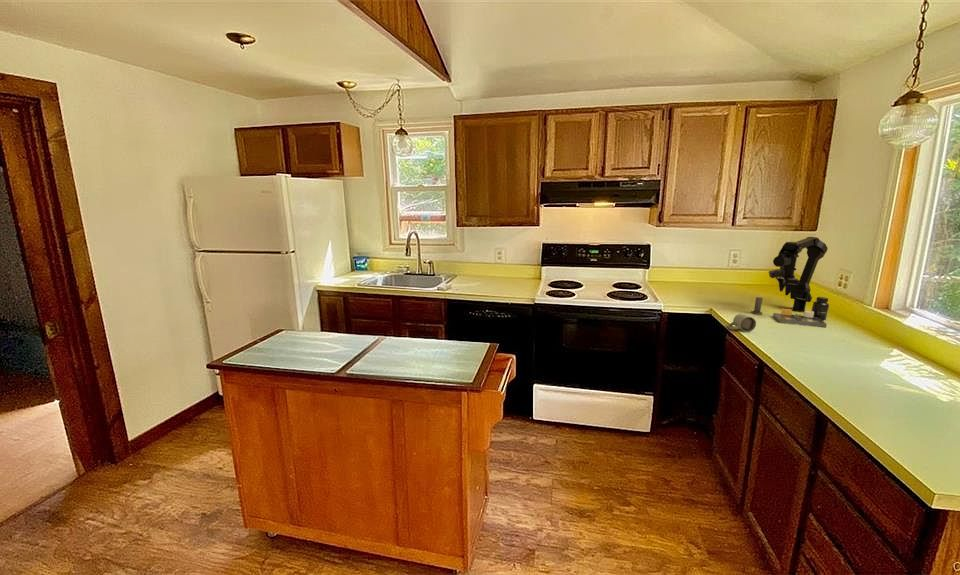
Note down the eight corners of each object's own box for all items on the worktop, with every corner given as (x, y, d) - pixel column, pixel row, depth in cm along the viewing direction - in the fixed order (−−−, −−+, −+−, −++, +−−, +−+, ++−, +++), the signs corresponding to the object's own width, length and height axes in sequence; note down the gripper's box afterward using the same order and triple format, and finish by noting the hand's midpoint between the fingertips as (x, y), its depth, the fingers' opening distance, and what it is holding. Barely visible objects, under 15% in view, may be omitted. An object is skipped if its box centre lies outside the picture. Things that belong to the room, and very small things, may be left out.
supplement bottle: (819, 321, 224) (824, 299, 221) (806, 317, 231) (811, 296, 228) (829, 320, 226) (833, 298, 223) (816, 316, 232) (820, 295, 230)
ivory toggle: (803, 315, 225) (804, 310, 225) (811, 316, 224) (812, 310, 223) (804, 316, 223) (806, 311, 223) (813, 317, 222) (814, 311, 222)
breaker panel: (772, 316, 232) (773, 311, 231) (816, 320, 225) (817, 315, 225) (779, 322, 221) (780, 317, 220) (826, 327, 214) (827, 322, 214)
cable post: (750, 311, 240) (752, 296, 238) (760, 312, 238) (763, 297, 236) (752, 314, 235) (755, 298, 233) (763, 315, 233) (766, 299, 231)
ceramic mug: (745, 326, 213) (748, 312, 212) (755, 332, 205) (757, 317, 204) (724, 326, 214) (726, 312, 212) (732, 332, 206) (735, 316, 204)
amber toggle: (781, 313, 228) (782, 308, 228) (789, 314, 227) (790, 308, 227) (782, 314, 227) (783, 309, 226) (790, 315, 225) (791, 309, 225)
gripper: (766, 261, 241) (761, 288, 245) (777, 267, 224) (771, 295, 228) (789, 263, 238) (784, 290, 241) (802, 269, 220) (796, 297, 224)
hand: (783, 293), depth 234 cm, fingers open, 9 cm apart
